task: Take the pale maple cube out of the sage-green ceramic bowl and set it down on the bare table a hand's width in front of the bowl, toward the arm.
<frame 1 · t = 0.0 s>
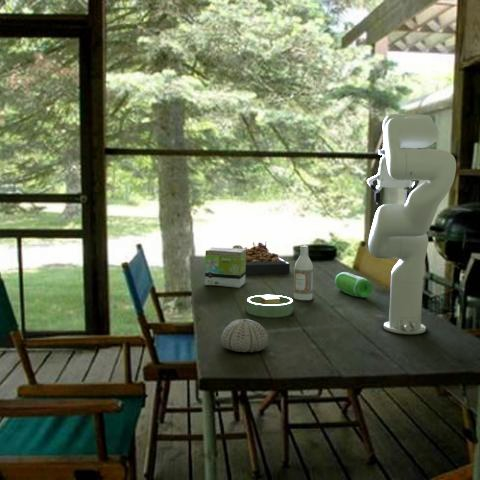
hand: (392, 204, 211), 37 cm above the table, tool pointing down, fingers open, 9 cm apart
food platter: (252, 266, 303), on the table
sea urchin shell: (244, 349, 171), on the table
speaker: (352, 294, 241), on the table
maple cube: (269, 311, 210), resting on bowl
bath foam: (302, 299, 232), on the table
bowl: (269, 313, 210), on the table
tea box: (225, 285, 257), on the table
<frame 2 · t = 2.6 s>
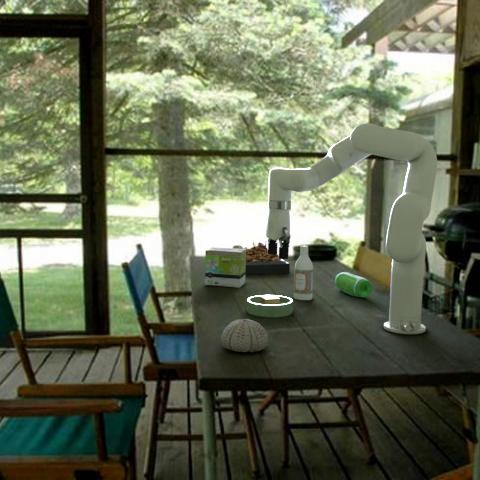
hand: (277, 256, 208), 19 cm above the table, tool pointing down, fingers open, 9 cm apart
nothing on the table moved.
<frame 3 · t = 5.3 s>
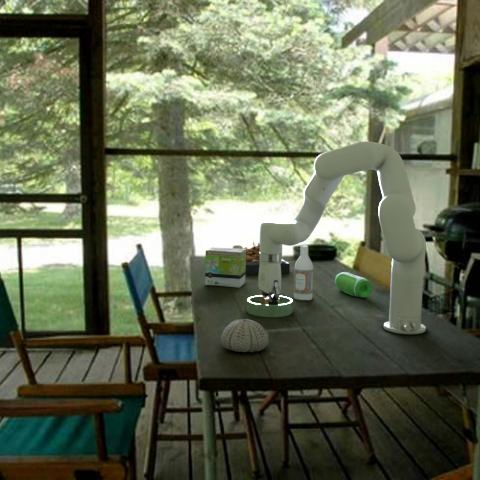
hand: (269, 310, 210), 1 cm above the table, tool pointing down, fingers closed on maple cube, 5 cm apart
maple cube: (269, 311, 210), point 1 cm above the table, touching bowl, gripper
everything else where it was.
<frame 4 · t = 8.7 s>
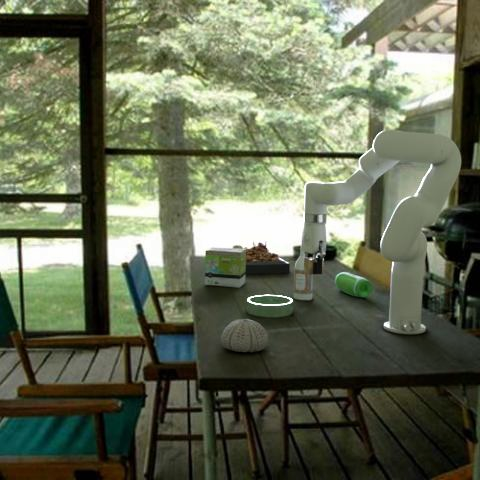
hand: (313, 272, 210), 14 cm above the table, tool pointing down, fingers closed on maple cube, 5 cm apart
maple cube: (313, 272, 210), point 14 cm above the table, touching gripper
everything else where it was.
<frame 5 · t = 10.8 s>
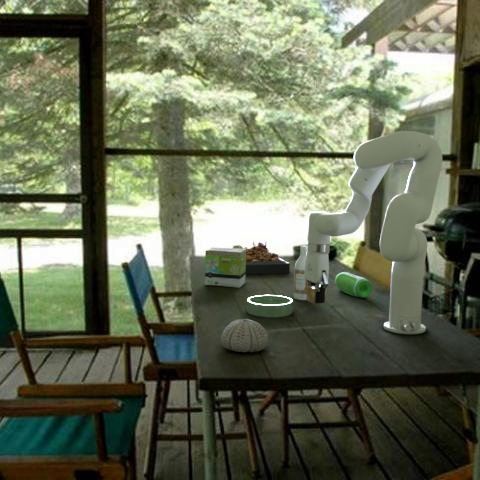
hand: (316, 300, 211), 4 cm above the table, tool pointing down, fingers closed on maple cube, 5 cm apart
maple cube: (316, 301, 212), point 4 cm above the table, touching gripper
everything else where it was.
when the fingers open (0 cm above the table, at t = 12.2 s): maple cube stays where it is, on the table.
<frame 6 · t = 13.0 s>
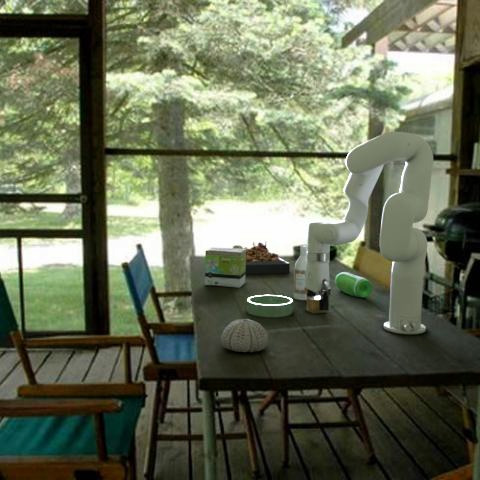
hand: (317, 307, 211), 2 cm above the table, tool pointing down, fingers open, 9 cm apart
maple cube: (316, 312, 212), on the table
everything else where it was.
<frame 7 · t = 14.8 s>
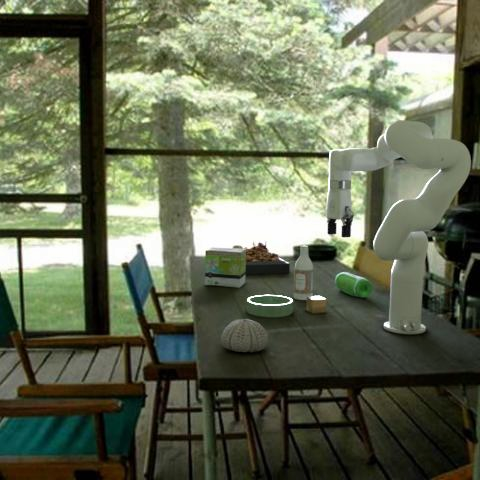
hand: (338, 235, 214), 26 cm above the table, tool pointing down, fingers open, 9 cm apart
nothing on the table moved.
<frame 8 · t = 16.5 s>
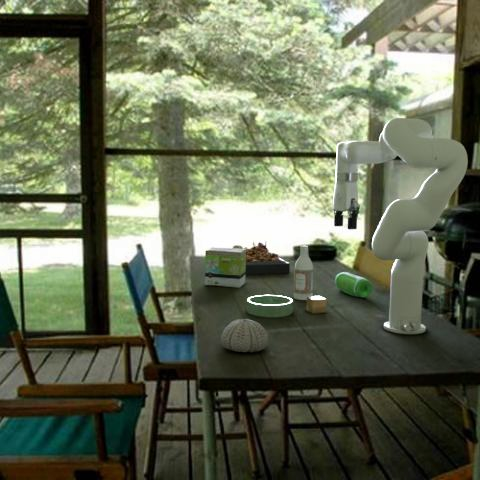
hand: (345, 227, 216), 28 cm above the table, tool pointing down, fingers open, 9 cm apart
nothing on the table moved.
at the end: maple cube inside the target area (0.2 cm from its centre), on the table; maple cube touching table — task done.
